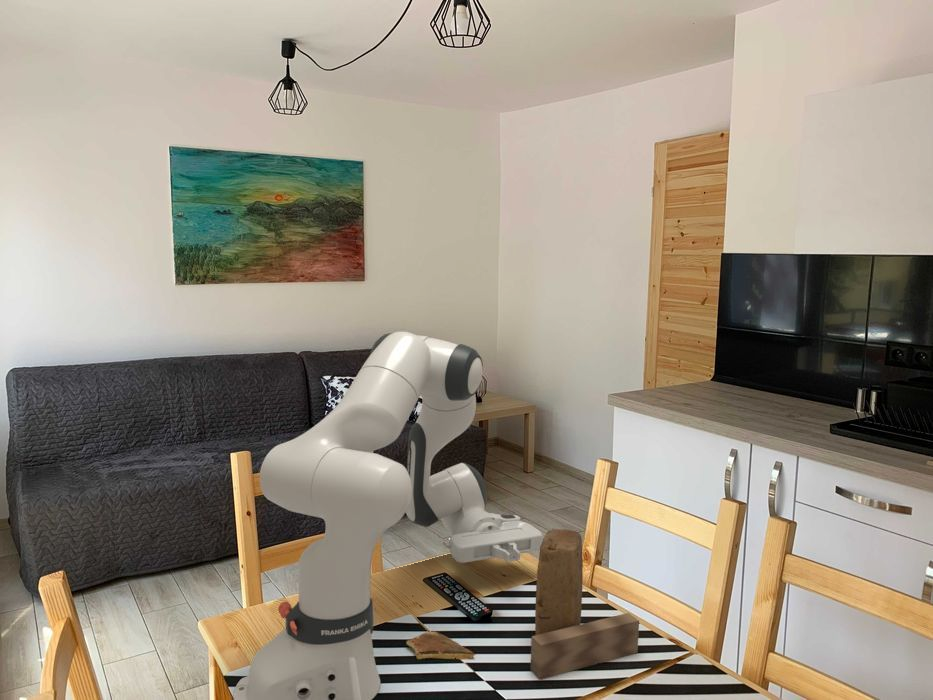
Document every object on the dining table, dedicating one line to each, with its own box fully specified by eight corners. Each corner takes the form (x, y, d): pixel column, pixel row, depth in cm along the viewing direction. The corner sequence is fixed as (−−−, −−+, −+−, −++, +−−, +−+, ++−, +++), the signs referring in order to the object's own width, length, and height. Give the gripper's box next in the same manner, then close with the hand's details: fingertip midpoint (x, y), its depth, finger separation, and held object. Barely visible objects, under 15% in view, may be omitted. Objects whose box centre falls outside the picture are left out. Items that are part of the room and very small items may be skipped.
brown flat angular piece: (475, 661, 122) (476, 651, 122) (442, 679, 117) (442, 668, 117) (434, 636, 130) (434, 627, 130) (401, 652, 125) (401, 642, 125)
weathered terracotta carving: (573, 659, 122) (578, 548, 120) (531, 651, 125) (534, 542, 122) (584, 629, 133) (588, 526, 130) (544, 622, 135) (548, 521, 132)
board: (539, 679, 116) (540, 645, 116) (530, 670, 119) (531, 636, 118) (637, 652, 125) (639, 620, 124) (626, 644, 128) (628, 612, 127)
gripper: (439, 526, 151) (467, 549, 138) (523, 514, 160) (557, 535, 147) (439, 554, 151) (466, 580, 139) (522, 541, 160) (555, 564, 148)
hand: (514, 557), depth 143 cm, fingers closed
